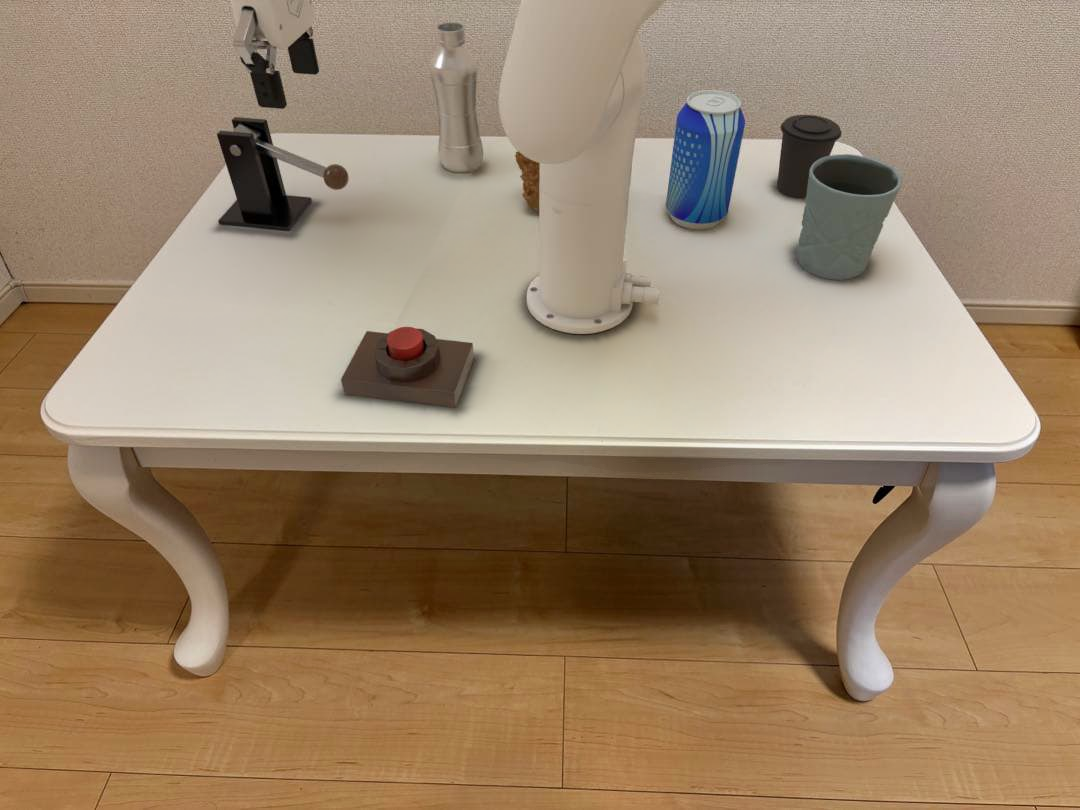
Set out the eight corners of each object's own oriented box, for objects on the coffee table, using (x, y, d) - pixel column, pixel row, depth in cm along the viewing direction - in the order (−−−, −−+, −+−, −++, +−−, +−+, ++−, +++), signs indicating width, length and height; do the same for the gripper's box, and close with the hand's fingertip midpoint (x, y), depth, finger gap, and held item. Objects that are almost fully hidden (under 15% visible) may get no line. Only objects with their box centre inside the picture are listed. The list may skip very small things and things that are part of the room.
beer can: (736, 228, 103) (760, 111, 91) (678, 236, 101) (695, 118, 90) (711, 197, 108) (731, 83, 97) (655, 204, 107) (669, 90, 96)
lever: (350, 186, 101) (354, 165, 99) (341, 198, 99) (345, 177, 97) (240, 141, 99) (241, 119, 97) (228, 152, 97) (229, 130, 95)
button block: (474, 358, 84) (471, 329, 81) (455, 408, 78) (452, 380, 75) (369, 346, 85) (363, 317, 82) (344, 394, 80) (337, 366, 77)
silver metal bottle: (478, 180, 112) (468, 37, 98) (434, 176, 113) (418, 33, 99) (489, 160, 116) (481, 20, 102) (446, 156, 117) (433, 17, 103)
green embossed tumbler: (886, 277, 94) (919, 189, 86) (812, 289, 93) (839, 200, 84) (843, 234, 101) (870, 148, 93) (773, 244, 100) (795, 158, 91)
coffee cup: (755, 182, 111) (769, 115, 104) (800, 170, 114) (817, 104, 107) (790, 208, 106) (808, 139, 99) (836, 195, 109) (857, 127, 102)
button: (428, 341, 80) (426, 328, 79) (418, 363, 78) (416, 350, 77) (395, 337, 81) (393, 324, 79) (384, 359, 78) (382, 346, 77)
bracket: (313, 204, 107) (292, 115, 98) (290, 235, 102) (265, 143, 93) (246, 198, 108) (219, 110, 99) (220, 228, 103) (189, 137, 94)
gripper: (249, -56, 70) (291, 124, 82) (318, -99, 83) (346, 63, 95) (174, -60, 71) (226, 119, 83) (253, -102, 83) (289, 59, 95)
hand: (290, 89), depth 89 cm, fingers open, 9 cm apart
